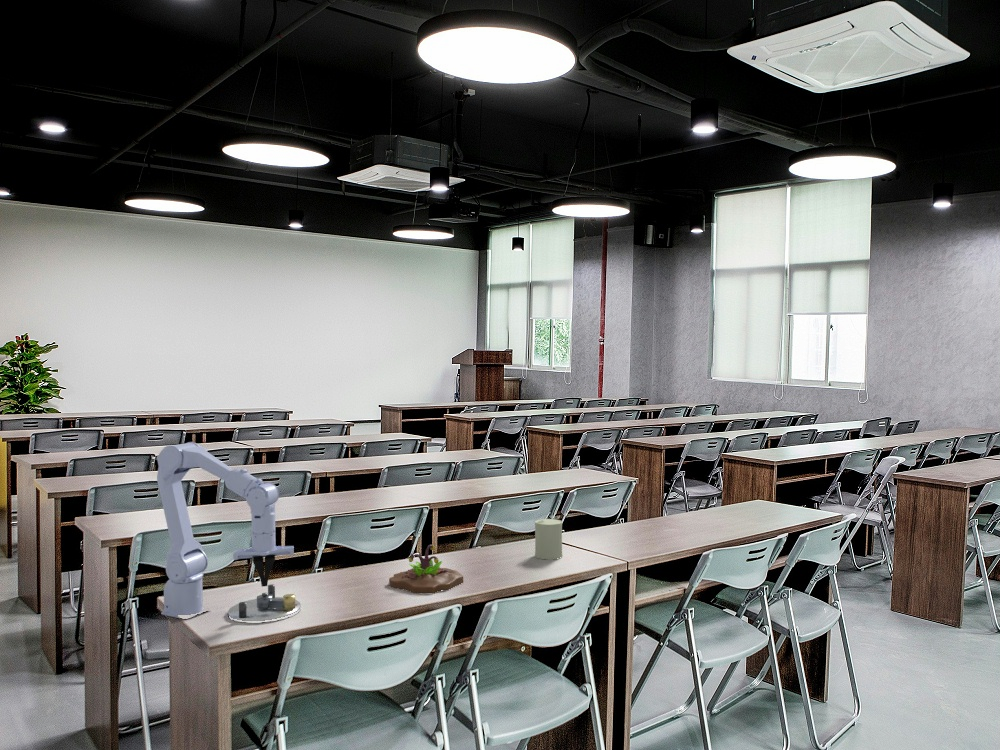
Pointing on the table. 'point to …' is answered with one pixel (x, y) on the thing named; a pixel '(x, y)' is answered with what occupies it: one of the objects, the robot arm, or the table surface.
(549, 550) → the can
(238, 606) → the crank base
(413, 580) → the plant
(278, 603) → the crank
